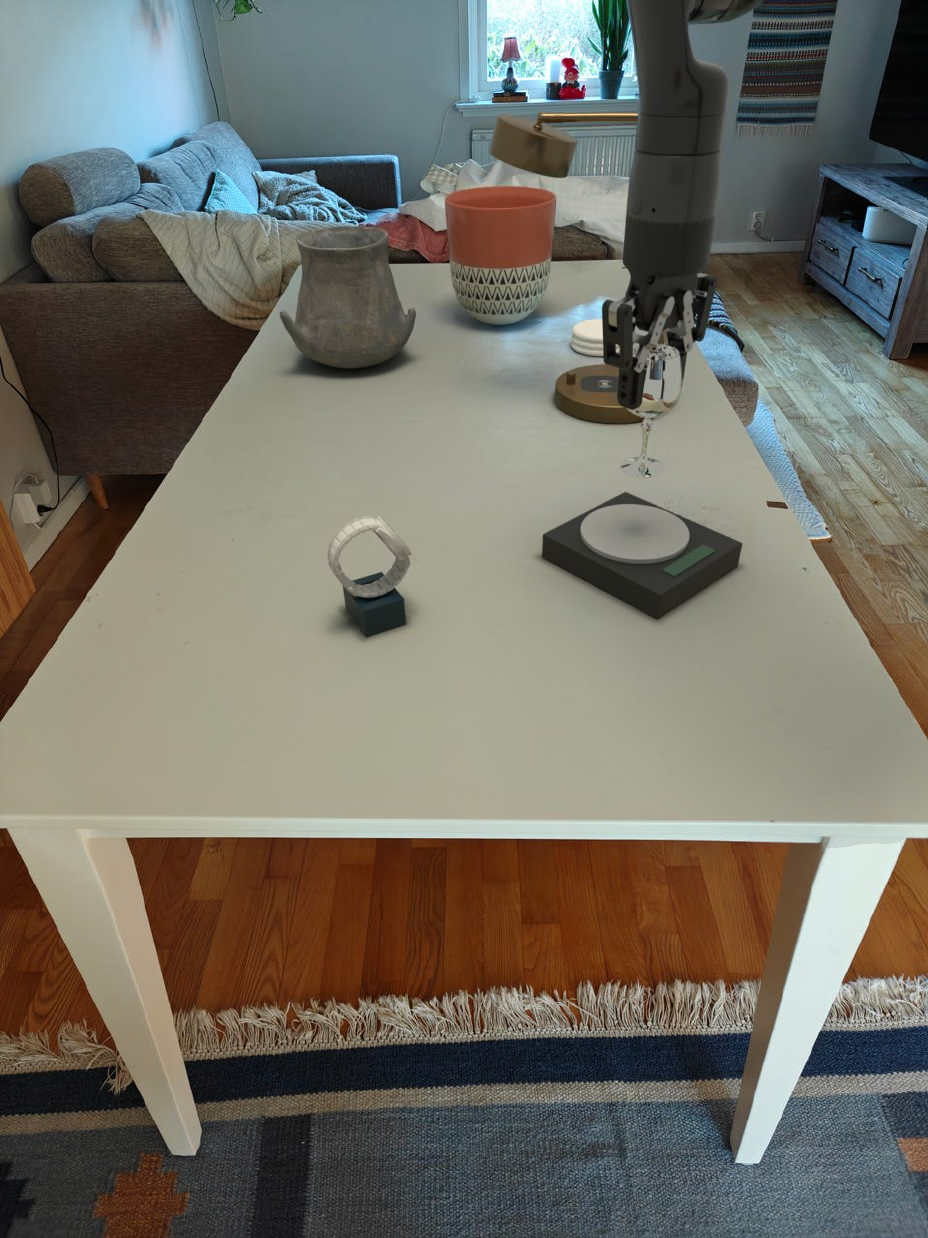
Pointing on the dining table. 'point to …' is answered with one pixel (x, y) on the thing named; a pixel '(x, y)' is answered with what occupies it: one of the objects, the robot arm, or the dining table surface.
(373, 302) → the vessel
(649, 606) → the scale
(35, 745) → the dining table surface
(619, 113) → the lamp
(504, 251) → the planter
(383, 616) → the watch
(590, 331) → the white round stack
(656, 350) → the wineglass
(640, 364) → the robot arm
